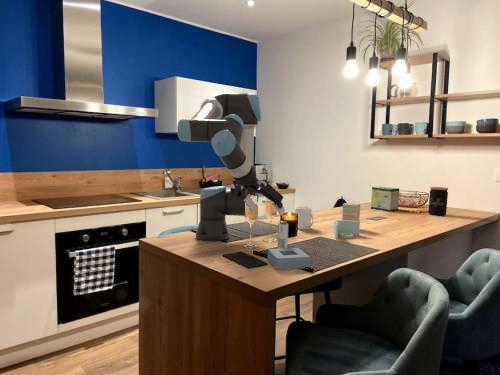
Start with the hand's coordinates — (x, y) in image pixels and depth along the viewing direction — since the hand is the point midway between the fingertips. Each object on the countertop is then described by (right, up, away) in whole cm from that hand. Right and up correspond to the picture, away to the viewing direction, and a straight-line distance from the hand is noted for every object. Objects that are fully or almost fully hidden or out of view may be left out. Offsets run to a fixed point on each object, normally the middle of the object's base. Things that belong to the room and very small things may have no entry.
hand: (267, 210), depth 142 cm
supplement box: (+47, -13, +62) cm, 79 cm away
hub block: (+7, -19, -2) cm, 21 cm away
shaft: (+6, -18, +11) cm, 22 cm away
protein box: (+87, -7, +126) cm, 154 cm away
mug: (+22, -13, +58) cm, 64 cm away
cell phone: (-9, -19, +1) cm, 21 cm away
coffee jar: (+117, -10, +111) cm, 161 cm away
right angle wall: (+40, -16, +42) cm, 60 cm away
